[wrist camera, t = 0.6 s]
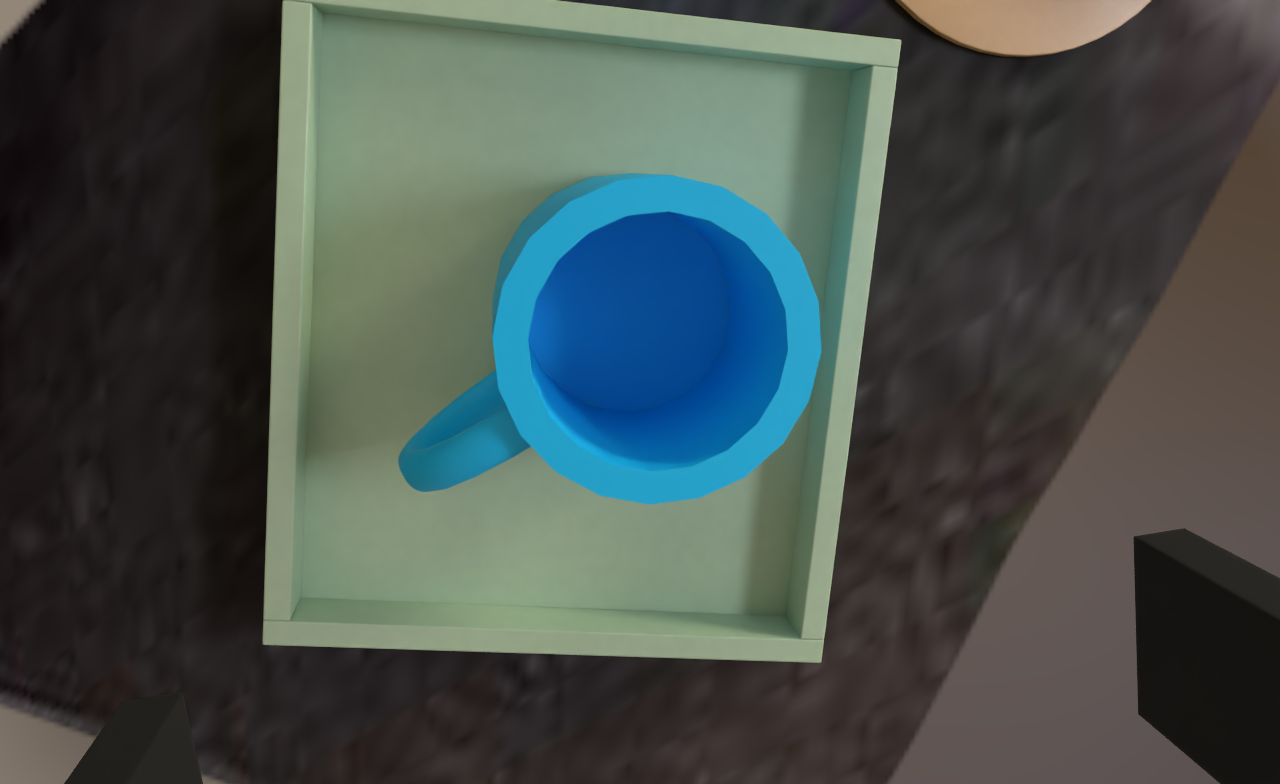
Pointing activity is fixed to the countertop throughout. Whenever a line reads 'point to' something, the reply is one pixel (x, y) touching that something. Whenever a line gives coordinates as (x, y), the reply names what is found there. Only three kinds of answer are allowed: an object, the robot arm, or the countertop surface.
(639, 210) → the mug
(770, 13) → the countertop surface
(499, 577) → the tray
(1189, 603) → the robot arm
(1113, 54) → the countertop surface
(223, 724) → the countertop surface
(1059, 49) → the coaster
